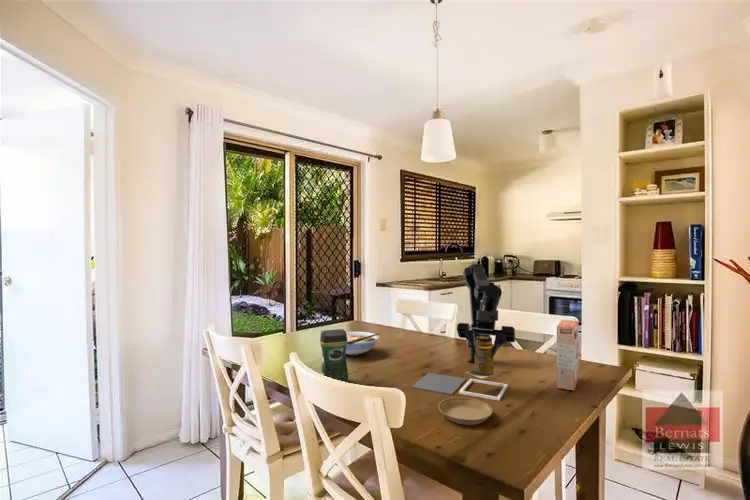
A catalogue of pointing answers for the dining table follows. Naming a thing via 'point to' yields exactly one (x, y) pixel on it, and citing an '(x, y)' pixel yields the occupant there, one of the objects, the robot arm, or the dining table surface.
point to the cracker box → (567, 354)
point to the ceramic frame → (482, 394)
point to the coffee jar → (334, 354)
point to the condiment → (483, 358)
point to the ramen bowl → (360, 342)
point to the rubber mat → (439, 383)
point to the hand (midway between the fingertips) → (483, 354)
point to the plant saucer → (465, 410)
